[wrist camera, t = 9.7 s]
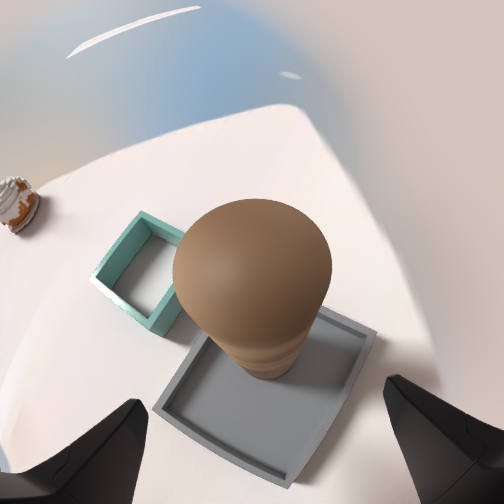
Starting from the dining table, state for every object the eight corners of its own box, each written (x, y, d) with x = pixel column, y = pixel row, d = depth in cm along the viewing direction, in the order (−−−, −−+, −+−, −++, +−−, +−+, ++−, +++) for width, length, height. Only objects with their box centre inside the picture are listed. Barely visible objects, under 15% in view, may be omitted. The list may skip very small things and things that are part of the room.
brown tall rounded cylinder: (270, 391, 19) (258, 378, 6) (228, 355, 20) (143, 270, 8) (307, 348, 20) (360, 249, 7) (264, 316, 22) (244, 179, 9)
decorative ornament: (46, 202, 33) (-6, 138, 20) (18, 241, 30) (-41, 183, 17) (33, 190, 35) (-11, 134, 22) (8, 224, 33) (-41, 172, 19)
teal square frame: (163, 338, 22) (148, 330, 20) (104, 290, 25) (88, 279, 22) (215, 260, 25) (208, 244, 23) (152, 226, 28) (141, 210, 25)
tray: (286, 481, 15) (287, 489, 14) (161, 408, 19) (151, 409, 17) (369, 336, 21) (377, 331, 19) (246, 276, 24) (244, 267, 23)
